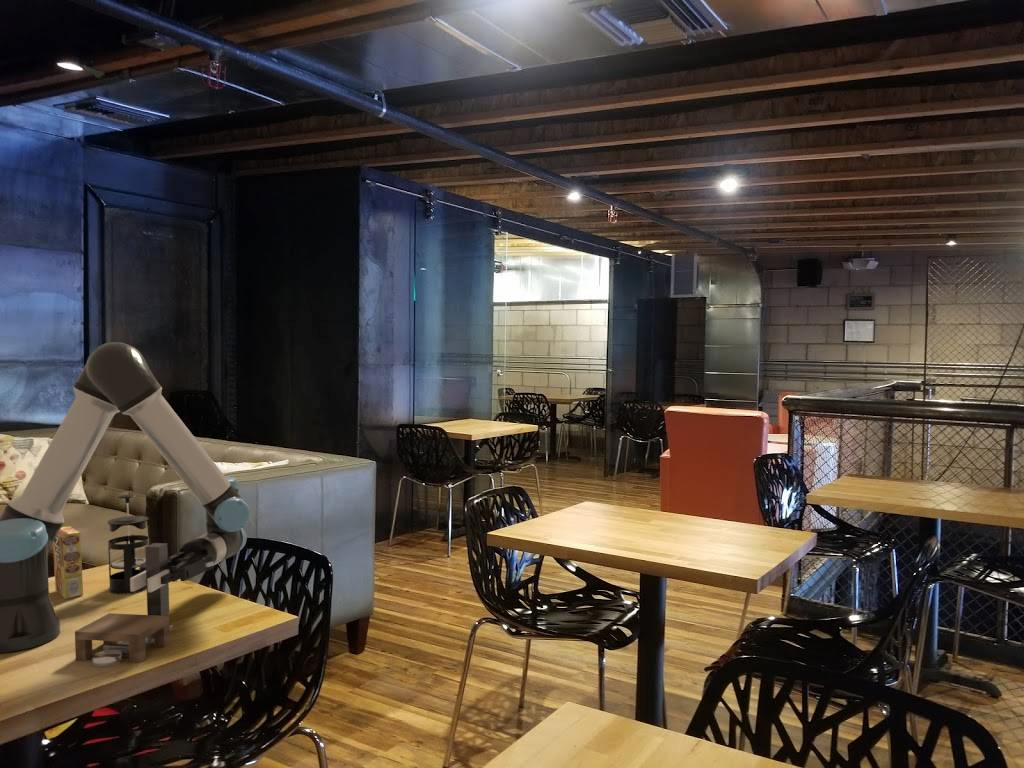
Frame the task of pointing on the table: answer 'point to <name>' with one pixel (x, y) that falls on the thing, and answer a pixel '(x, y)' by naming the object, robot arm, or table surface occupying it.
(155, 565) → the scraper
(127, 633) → the stand
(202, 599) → the table surface
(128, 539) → the french press
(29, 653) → the table surface
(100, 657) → the disc
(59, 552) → the candy box
